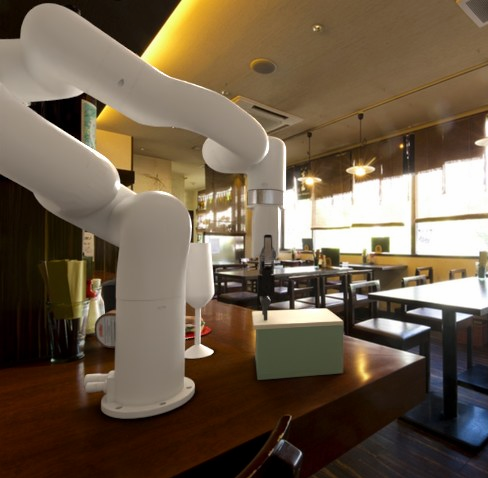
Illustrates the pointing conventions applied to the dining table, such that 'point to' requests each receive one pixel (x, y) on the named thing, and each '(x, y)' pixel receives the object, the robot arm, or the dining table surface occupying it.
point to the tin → (106, 329)
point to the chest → (298, 351)
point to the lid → (292, 317)
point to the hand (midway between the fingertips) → (265, 295)
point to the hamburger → (191, 327)
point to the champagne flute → (199, 291)
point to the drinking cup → (109, 295)
